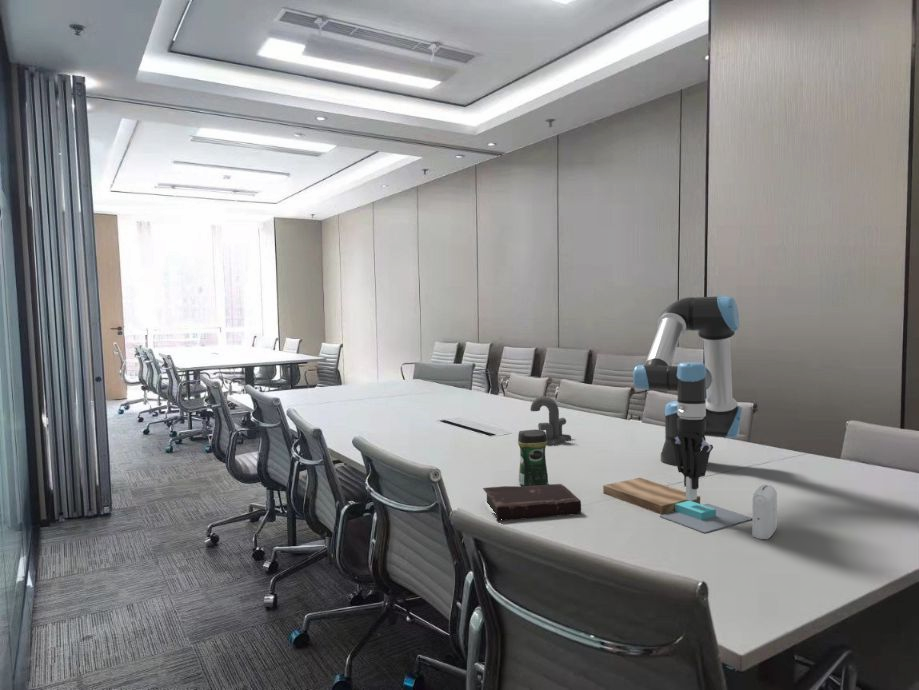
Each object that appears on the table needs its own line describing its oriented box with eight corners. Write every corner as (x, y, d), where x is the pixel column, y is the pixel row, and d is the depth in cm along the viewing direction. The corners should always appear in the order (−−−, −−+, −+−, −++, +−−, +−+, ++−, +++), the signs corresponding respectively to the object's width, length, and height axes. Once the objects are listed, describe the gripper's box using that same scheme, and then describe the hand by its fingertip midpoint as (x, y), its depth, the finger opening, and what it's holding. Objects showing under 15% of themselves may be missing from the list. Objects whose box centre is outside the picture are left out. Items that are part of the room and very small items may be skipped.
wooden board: (639, 485, 199) (639, 477, 199) (700, 504, 178) (700, 496, 178) (603, 493, 192) (603, 485, 192) (661, 514, 171) (661, 505, 171)
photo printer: (768, 541, 150) (769, 492, 149) (750, 537, 152) (750, 489, 152) (778, 529, 158) (779, 483, 157) (760, 526, 160) (761, 480, 160)
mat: (707, 504, 179) (707, 503, 178) (753, 519, 165) (753, 518, 165) (659, 516, 169) (659, 515, 169) (704, 533, 156) (704, 532, 156)
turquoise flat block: (689, 507, 175) (689, 500, 175) (715, 516, 168) (715, 509, 167) (675, 510, 173) (675, 504, 172) (701, 520, 165) (701, 513, 165)
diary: (581, 517, 172) (581, 500, 172) (497, 524, 168) (496, 506, 168) (559, 496, 191) (559, 481, 190) (482, 502, 186) (482, 486, 186)
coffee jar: (542, 480, 208) (542, 426, 207) (550, 486, 200) (550, 431, 199) (515, 482, 206) (515, 428, 205) (522, 488, 198) (521, 433, 197)
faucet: (540, 434, 283) (540, 392, 282) (571, 438, 274) (571, 394, 273) (521, 442, 269) (520, 397, 268) (553, 446, 260) (552, 400, 258)
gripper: (664, 415, 174) (664, 495, 175) (701, 422, 162) (701, 507, 164) (682, 412, 177) (682, 491, 179) (720, 419, 166) (719, 503, 167)
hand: (691, 499), depth 171 cm, fingers closed
